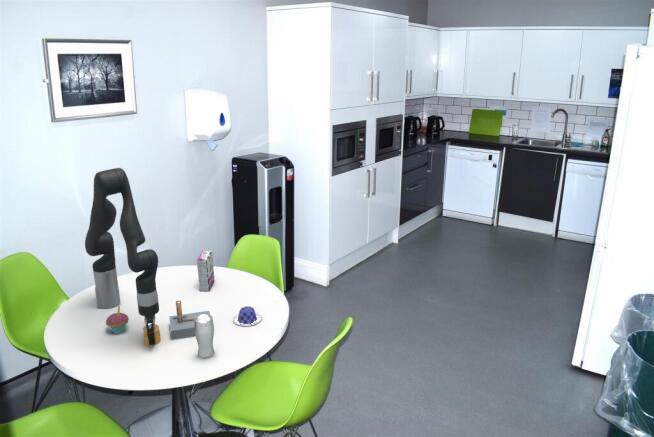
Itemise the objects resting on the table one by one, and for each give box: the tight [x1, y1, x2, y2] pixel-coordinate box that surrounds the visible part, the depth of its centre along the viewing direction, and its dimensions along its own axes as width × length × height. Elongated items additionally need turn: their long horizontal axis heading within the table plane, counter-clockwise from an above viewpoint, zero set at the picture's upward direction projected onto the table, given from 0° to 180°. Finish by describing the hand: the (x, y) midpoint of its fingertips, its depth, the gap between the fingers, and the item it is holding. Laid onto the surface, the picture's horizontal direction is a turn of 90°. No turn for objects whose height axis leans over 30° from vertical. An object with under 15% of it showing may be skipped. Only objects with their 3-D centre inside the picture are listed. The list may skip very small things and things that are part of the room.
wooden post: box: [175, 300, 183, 323], centre depth 208 cm, size 2×2×9 cm
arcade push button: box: [142, 323, 161, 347], centre depth 202 cm, size 6×6×7 cm
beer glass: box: [194, 314, 215, 359], centre depth 192 cm, size 7×7×15 cm
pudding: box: [232, 305, 263, 327], centre depth 218 cm, size 12×12×5 cm
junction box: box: [169, 310, 211, 341], centre depth 211 cm, size 16×12×5 cm
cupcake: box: [105, 305, 130, 334], centre depth 209 cm, size 9×8×12 cm
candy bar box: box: [196, 250, 215, 292], centre depth 246 cm, size 11×5×16 cm, turn 179°
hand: (152, 339), depth 202 cm, fingers open, 7 cm apart
